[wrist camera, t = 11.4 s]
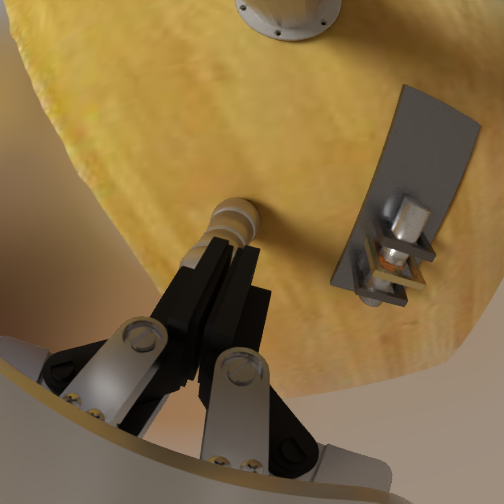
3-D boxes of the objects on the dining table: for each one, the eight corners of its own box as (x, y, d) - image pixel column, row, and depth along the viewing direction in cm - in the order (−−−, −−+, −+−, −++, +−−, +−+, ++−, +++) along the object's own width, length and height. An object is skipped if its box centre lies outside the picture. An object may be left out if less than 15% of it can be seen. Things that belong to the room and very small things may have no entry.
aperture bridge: (366, 237, 39) (375, 269, 33) (412, 252, 39) (426, 285, 32) (364, 243, 39) (372, 276, 33) (409, 258, 39) (422, 291, 33)
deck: (402, 84, 28) (405, 84, 27) (476, 123, 27) (480, 124, 26) (330, 280, 45) (330, 285, 44) (394, 297, 45) (395, 302, 44)
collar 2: (354, 262, 41) (358, 287, 37) (400, 275, 41) (408, 301, 36) (351, 268, 42) (355, 294, 37) (396, 281, 42) (404, 307, 37)
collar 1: (375, 215, 37) (384, 237, 32) (423, 232, 37) (436, 255, 32) (372, 223, 38) (380, 245, 33) (419, 239, 37) (432, 262, 32)
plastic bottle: (220, 187, 40) (155, 273, 24) (267, 200, 40) (232, 297, 24) (214, 226, 44) (157, 322, 28) (257, 238, 44) (222, 343, 27)
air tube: (399, 192, 34) (408, 205, 31) (426, 202, 34) (436, 216, 30) (356, 285, 43) (358, 303, 40) (380, 291, 43) (384, 310, 40)
